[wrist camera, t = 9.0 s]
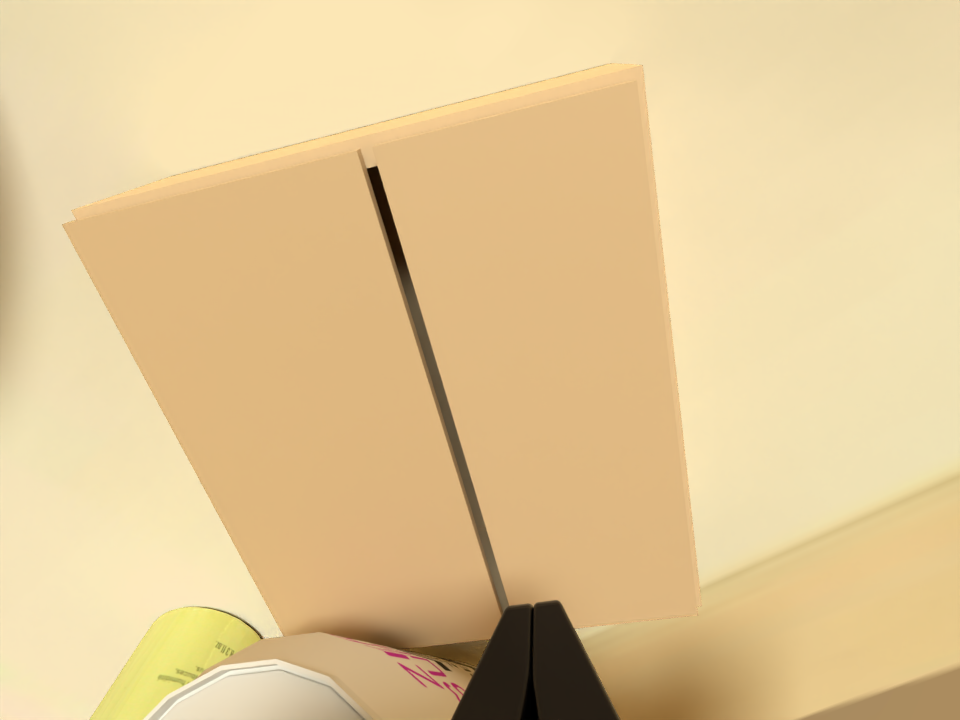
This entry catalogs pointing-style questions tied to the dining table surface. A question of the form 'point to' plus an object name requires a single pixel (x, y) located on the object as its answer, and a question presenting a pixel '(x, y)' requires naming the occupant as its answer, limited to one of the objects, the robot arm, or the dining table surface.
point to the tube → (172, 659)
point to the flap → (553, 347)
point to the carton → (319, 375)
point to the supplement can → (320, 683)
